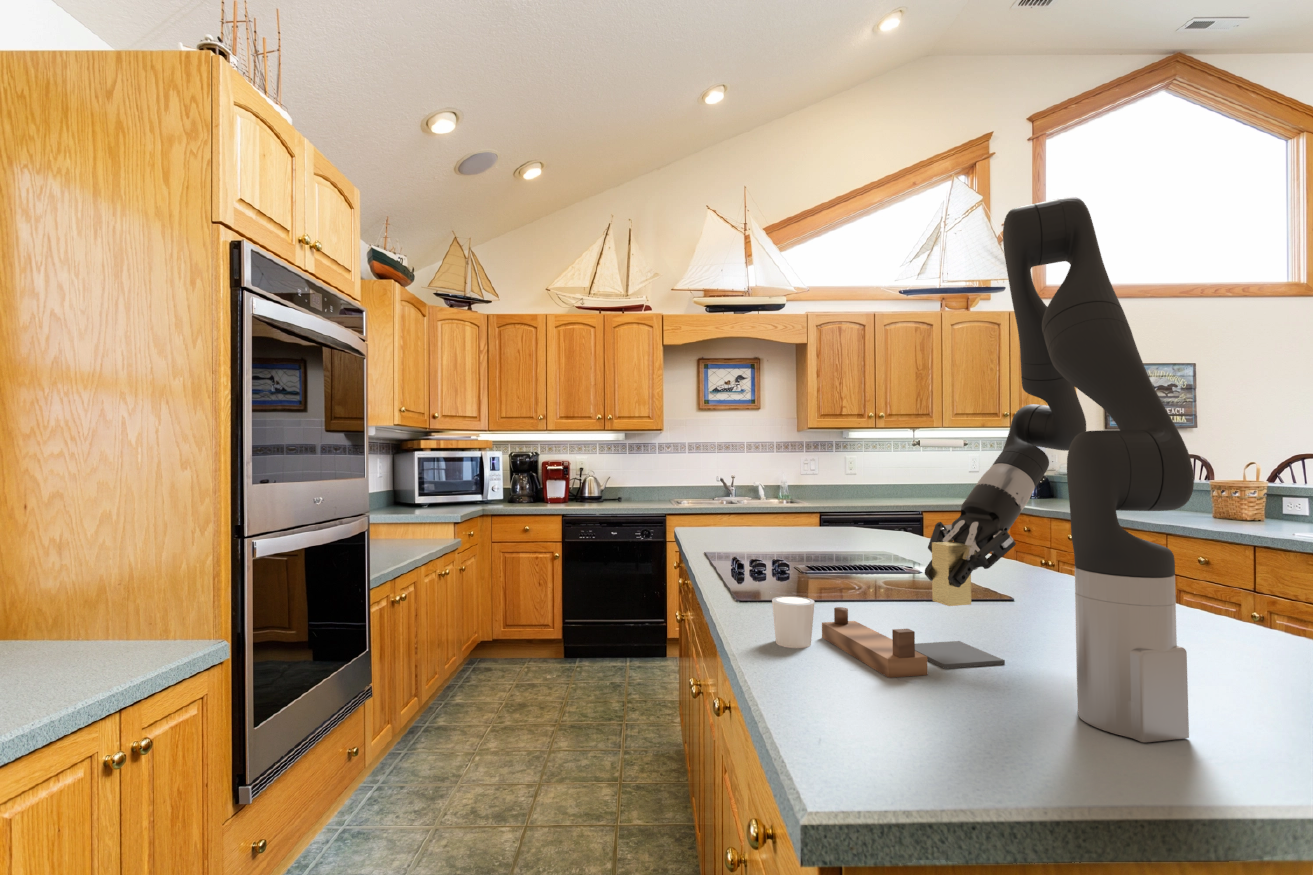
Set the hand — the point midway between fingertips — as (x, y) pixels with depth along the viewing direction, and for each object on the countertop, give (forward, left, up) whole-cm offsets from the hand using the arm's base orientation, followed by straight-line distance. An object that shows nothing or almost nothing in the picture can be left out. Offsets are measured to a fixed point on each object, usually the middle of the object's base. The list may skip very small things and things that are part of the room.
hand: (941, 580), depth 96 cm
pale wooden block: (0, -2, -4) cm, 4 cm away
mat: (0, -2, -12) cm, 12 cm away
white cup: (+11, +19, -12) cm, 25 cm away
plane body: (+3, +10, -12) cm, 16 cm away
